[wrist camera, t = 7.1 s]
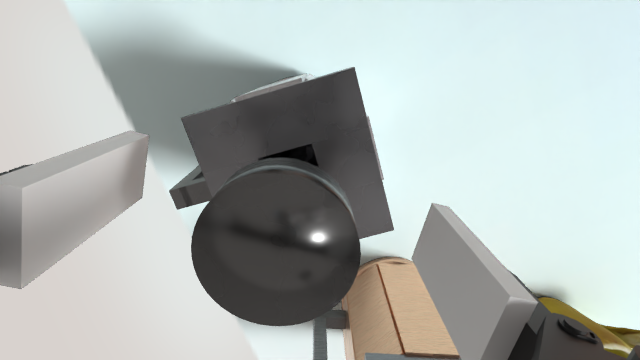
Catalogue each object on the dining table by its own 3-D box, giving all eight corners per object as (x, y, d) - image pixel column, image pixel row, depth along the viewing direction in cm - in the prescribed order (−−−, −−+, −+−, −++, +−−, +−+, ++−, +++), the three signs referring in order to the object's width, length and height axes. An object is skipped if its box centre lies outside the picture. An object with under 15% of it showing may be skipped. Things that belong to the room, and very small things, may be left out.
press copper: (311, 333, 37) (308, 467, 25) (317, 252, 34) (318, 358, 22) (426, 339, 37) (481, 475, 25) (442, 259, 35) (512, 368, 22)
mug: (487, 399, 37) (568, 472, 28) (470, 300, 38) (543, 338, 28) (589, 370, 39) (698, 428, 30) (572, 276, 40) (675, 303, 30)
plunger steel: (271, 89, 27) (189, 133, 10) (348, 109, 28) (404, 186, 10) (255, 165, 29) (162, 318, 11) (328, 182, 29) (346, 354, 12)
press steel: (239, 203, 33) (191, 287, 20) (201, 102, 30) (120, 129, 18) (367, 168, 32) (400, 233, 19) (340, 61, 29) (359, 58, 17)
